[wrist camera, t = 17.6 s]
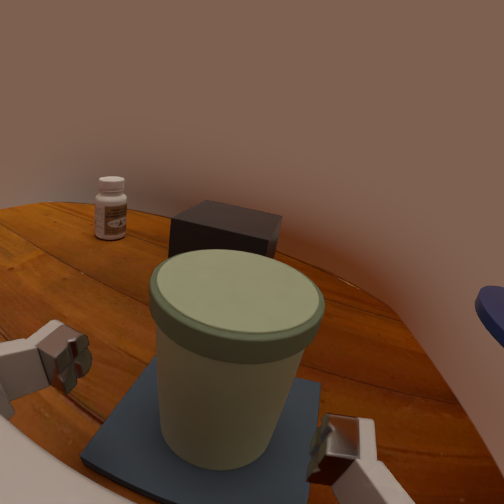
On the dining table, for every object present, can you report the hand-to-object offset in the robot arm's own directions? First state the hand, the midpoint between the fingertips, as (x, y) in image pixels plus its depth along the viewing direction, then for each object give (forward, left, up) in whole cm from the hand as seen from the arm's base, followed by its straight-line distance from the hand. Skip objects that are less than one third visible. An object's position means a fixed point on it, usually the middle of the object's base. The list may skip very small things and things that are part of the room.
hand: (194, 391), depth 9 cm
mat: (+2, -3, -8) cm, 9 cm away
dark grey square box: (+19, -18, -8) cm, 27 cm away
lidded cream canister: (+2, -3, -7) cm, 8 cm away
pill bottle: (+33, -9, -8) cm, 35 cm away
